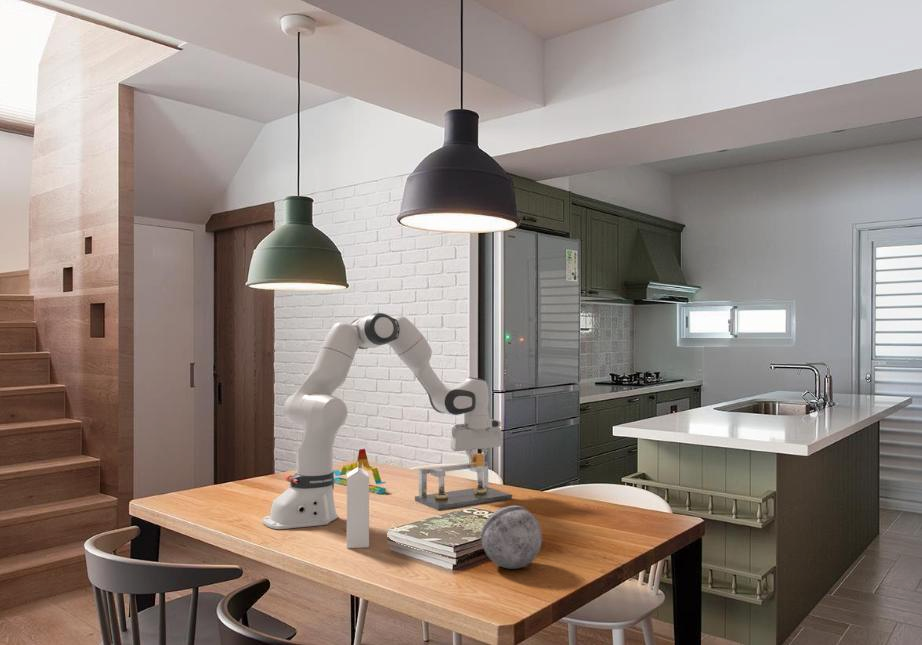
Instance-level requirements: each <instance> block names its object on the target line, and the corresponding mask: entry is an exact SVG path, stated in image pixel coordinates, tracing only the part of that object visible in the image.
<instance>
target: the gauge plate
mask: <svg viewBox="0 0 922 645" xmlns="http://www.w3.org/2000/svg"><path fill="white" fill-rule="evenodd" d="M483 466H484V471H483V488H477V487H474V488H465V489H459V490H453V491H445V477H446V472H452V471H461V470H462V471H463V470H470V462H469V463H468V462H467V463H461V464H459V463H458V464H450V465H444V466H443V465H442V466H434V467H424V468H418V495H415V496H414V501H415V502H416V503H419V504H421V505H425V506H427V507H430V508H432V509H434V510H436V511H437V510H438V511H441V510H443V511H444V510H449V509H454V508H460V507H461V508H462V507H467V506H468V507H469V506H475V505H480V504H485V503H486V504H487V503H495V502H499V501H507V500H511V499H512V498H513V494H511V493H508V492H504V491H501V490H498V489H495V488H492V487H489V461H486V460H485V461H483ZM427 474H430V475H431V476H432V477H436V478H438V492H437V493H429V494H428V490H427V489H428V488H427V487H428V485H427V484H428V483H427Z"/></svg>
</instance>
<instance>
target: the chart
mask: <svg viewBox="0 0 922 645" xmlns="http://www.w3.org/2000/svg"><path fill="white" fill-rule="evenodd" d="M357 467H359V468H360V469H363V468H364V469H365V470H366V471H371V472H372V476H373V480H374V482H375V484H376V485H372V484H369V493H373V494H377V495H382V494H387V493H386V492H387V488H386V487H383V486H382V487H381V486H378V485H382V484H386V483H387V482H386V481H382V479H381V476H380V472H379V470H378V468H377V467H372V466H370V464H369V459H368V455H367V452H366V449H365V448H360V449H358V455H357V461H356V462H352V463H350V464H344V465H343V467H342V469H341V471H340V470H339V469H335V470H333V469H332V472H334V475H335V476H334V484H337V485H342V486H346V487H347V478H344V477H340V476H344V475H347V473H348V472H351V471H352V470H354V469H356V468H357ZM362 467H363V468H362Z"/></svg>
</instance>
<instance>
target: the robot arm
mask: <svg viewBox="0 0 922 645" xmlns="http://www.w3.org/2000/svg"><path fill="white" fill-rule="evenodd" d="M383 345H388V346H390V348H392V350H393V351H394V353H395V354H396V355H397V356H398V358H399V359H400V360H401V361H402V362H403V363H404V364H405V366H407V368H409V370H410V371H411V372H412V373H413V375H415V376H414V377H416V378H417V380H418V381H419V383H420V384H421V386H422V387H423V388H424V390H425V391H426V393H427V396H428V398H429V403H430V406H431V407H432V409H433V410H434V411H435V412H437V413H440V414H447V415H452V416H458V415H459V416H460V415H463V416H464V418H463V420H464V423H461V424H455V425H453V427H452V428H451V438H450V439H451V441H450V449H451V450H452V451H453V452H463V451H465V454H466V456H467V458H468V462H469V463H472V462H475V460H474V459H475V457H472V455H471V454H472V453H473V451H474V450H480V451H481V453H480V454H483V462H484V461H486V455H487V453H488V449H490V448H491V449H492V448H500V447H501V446H502V444H503V433H502V428H500V427H501V424H502V423H501V421H499V420H497V419H494V418H491V417H490V412H489V410H488V409H489V408H488V407H489V403H490V402H489V401H490V399H489V398H490V396H489V386H488V383H487V381H486V380H485V379H482V378H479V377H478V378H477V377H470V376H469V377H466V378H465V380H463V381H462V382H461V383H459V384H457V385H454V386H452V387H451V386H449V385H447V384H445V383H443V382H442V380H441V379H440V378H439V376H438V375H437V373H436V372H435V371H434V370H433V368H432V366H431V364H430V363H431V362H430V360H431V359H432V354H433V350H432V348H431V345H430V344H429V342H428V340H427V339H426V337H425V336H424V335H423V334H422V333H421V331H420V330H419V329H418V328H417V326H415V324H413V323H412V322H411V321H410V320H409V319H408V318H407V317H406V316H403V315H395V316H393V317H391V316H390V315H389V314H386V313H383V312H375V313H372V314H366V315H364V316H363V315H362V317H359V318H357V319H355V320H353V321H352V322H351V323H349V322H345V321H343V322H341V321H339V322H336V323H334V324H333V325H332V327H331V328H330V330H329V331H328V333H327V334H326V336H325V338H324V340H323V342H322V344H321V347H320V349H319V352H318V354H317V357H316V359H315V361H314V364H313V366H312V368H311V370H310V372H309V374H308V375H307V377H306V378H305V380H304V381H303V383H302V384H301V385H300V387H299V388H298V389H297V390H296V391H295V392H294V393H293V394H291V395H289V397H287V399H286V401H284V404H283V415H284V417H285V419H286V420H287V421H288V422H289V423H291V424H293V425H295V426H296V427H300V428H301V427H302V428H305V431H304V437H303V440H302V442H301V443H300V444H299V445H298V446H297V449H296V471H295V472H296V473H295V474H294V475H291V474H286V476H285V478H284V479H285V481H287V482H289V483H290V486H288V488H287V489H286V490H284V491H283V492H282V493H281V494H280V495H278V496H277V497H276V498H275V499H274V500H273V501H272V504H271V507H270V513H269V514H270V515H267V516H264V517H263V519H262V523H263V525H265V526H266V527H268V528H270V529H275V530H287V529H294V528H295V529H297V528H306V527H315V526H316V527H317V526H324V525H325V526H326V525H329V524H330V523H331V522H332V521H335V520H336V519H337V518H338V513H337V510H336V509H337V508H336V505H335V500H334V498H335V497H334V489H335V488H334V487H335V483H334V478H335V476H334V475H335V474H334V472H333V459H334V458H333V454H334V453H333V452H334V451H333V450H334V445H335V441H336V437H337V434H338V431H339V430H340V428H341V427H343V426H344V424H345V422H346V421H347V418H348V407H347V405H346V403H345V402H344V400H342V399H341V398H338V397H337V396H334V395H333V394H334V393H335V391H336V390H337V389H338V388H340V387H341V386H342V385H343V384H344V383H345V382H346V379H347V377H348V375H349V371H350V369H351V366H352V363H353V361H354V358H355V355H356V353H357V351H358V350H359V349H360V350H366V349H367V350H368V349H372V348H378V347H381V346H383Z"/></svg>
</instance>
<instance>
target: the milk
mask: <svg viewBox="0 0 922 645" xmlns="http://www.w3.org/2000/svg"><path fill="white" fill-rule="evenodd" d="M346 479H347V486H346V549H360V548H362V549H363V548H369V547H370V492H369V485H370V474H369V472H368V471H367V470H364V469H363V468H361V469H360V468H359V467H357V468H356V469H353V470H350V471H348V472H346Z"/></svg>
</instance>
